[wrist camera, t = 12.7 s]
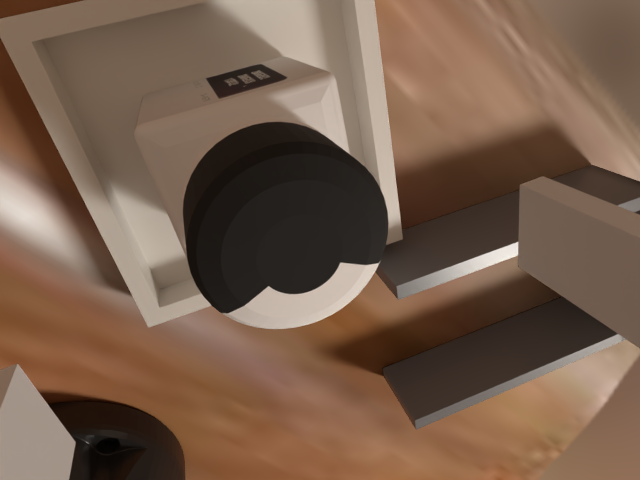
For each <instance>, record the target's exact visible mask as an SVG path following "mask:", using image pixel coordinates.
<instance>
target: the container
mask: <svg viewBox="0 0 640 480" xmlns="http://www.w3.org/2000/svg"><path fill="white" fill-rule="evenodd" d="M134 137H135V140H136V142H137V145H138V147H139V149H140V152H141V154H142V156H143V158H144V161H145V163H146V165H147V168H148V170H149V172H150V175H151V177H152V179H153V182H154V184H155V186H156V188H157V191H158V193H159V195H160V198H161V200H162V202H163V205H164V207H165V209H166V212H167V214H168V216H169V218H170V221H171V223H172V225H173V228H174V230H175V232H176V235H177V237H178V239H179V242H180V244H181V246H182V248H183V251H184V253H185V255H186V258H187V261H188V265H189V269H190V273H191V275H192V277H193V280H194V282H195V284H196V286H197V288H198V289H199V291H200V292H201V294H202V295H203V296H204V298H205V299H206V300H207V301H208V302H209V303H210V304H211V305H212V306H213V307H214V308H216V309H217V310H218V311H219V312H221V313H222V314H224V315H225V316H227V317H229V318H231V319H232V320H235V321H237V322H240V323H242V324H245V325H249V326H253V327H258V328H266V329H285V328H294V327H300V326H304V325H308V324H311V323H314V322H317V321H320V320H322V319H324V318H326V317H328V316H330V315H332V314H334V313H335V312H337V311H339V310H340V309H342V308H343V307H344V306H346V305H347V304H348V303H349V302H351V301H352V300H353V299H354V298H355V297H356V296H357V295H358V294H359V293H360V292H361V291H362V289H363V288H364V287H365V286H366V285H367V283H368V282H369V280H370V279H371V277H372V276H373V274H374V273H375V271H376V269H377V267H378V265H379V263H380V261H381V259H382V256H383V253H384V250H385V247H386V242H387V237H388V224H389V223H388V211H387V207H386V202H385V199H384V196H383V194H382V191H381V189H380V187H379V185H378V183H377V182H376V180H375V178H374V177H373V176H372V174H371V173H370V172H369V171H368V170H367V168H366V167H365V166H363V165H362V164H361V163H360V162H359V161H358V160H356V159H355V158H354V157H353V156H351V155H350V152H349V147H348V141H347V136H346V130H345V125H344V120H343V114H342V109H341V103H340V98H339V93H338V87H337V82H336V79H335V77H334V75H333V74H332V73H330V72H328V71H325V70H322V69H320V68H317V67H314V66H311V65H308V64H306V63H303V62H300V61H297V60H294V59H292V58H289V57H279V58H275V59H271V60H268V61H264V62H261V63H257V64H253V65H250V66H246V67H242V68H239V69H235V70H231V71H228V72H224V73H220V74H217V75H213V76H210V77H206V78H202V79H199V80H195V81H191V82H188V83H184V84H180V85H177V86H173V87H169V88H166V89H162V90H159V91H155V92H151V93H148V94H146V95H144V96H143V98H142V100H141V104H140V108H139V113H138V117H137V121H136V125H135V129H134Z"/></svg>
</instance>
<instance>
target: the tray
mask: <svg viewBox="0 0 640 480" xmlns="http://www.w3.org/2000/svg"><path fill="white" fill-rule="evenodd" d="M0 38H1V40H2V42H3V44H4V46H5V48H6V50H7V52H8V54H9V56H10V58H11V60H12V62H13V64H14V66H15V68H16V69H17V71H18V73H19V75H20V77H21V79H22V81H23V83H24V85H25V87H26V89H27V91H28V93H29V95H30V97H31V99H32V101H33V103H34V105H35V107H36V109H37V111H38V112H39V114H40V116H41V118H42V120H43V122H44V124H45V126H46V128H47V130H48V132H49V134H50V136H51V138H52V140H53V142H54V144H55V146H56V148H57V150H58V152H59V153H60V155H61V157H62V159H63V161H64V163H65V165H66V167H67V169H68V171H69V173H70V175H71V177H72V179H73V181H74V183H75V185H76V187H77V189H78V191H79V193H80V194H81V196H82V198H83V200H84V202H85V204H86V206H87V208H88V210H89V212H90V214H91V216H92V218H93V220H94V222H95V224H96V226H97V228H98V230H99V232H100V234H101V236H102V237H103V239H104V241H105V243H106V245H107V247H108V249H109V251H110V253H111V255H112V257H113V259H114V261H115V263H116V265H117V267H118V269H119V271H120V273H121V275H122V277H123V278H124V280H125V282H126V284H127V286H128V288H129V290H130V292H131V294H132V296H133V298H134V300H135V302H136V304H137V306H138V308H139V310H140V312H141V314H142V316H143V318H144V319H145V321H146V323H147V325H148V327H151V326H154V325H157V324H160V323H163V322H166V321H169V320H172V319H174V318H177V317H180V316H183V315H186V314H189V313H192V312H195V311H197V310H200V309H203V308H206V307H209V306H212V305H211V304H210V303H209V302H208V301H207V300H206V299H205V298H204V296H203V295H202V294H201V292H200V291H199V289H198V288H197V286H196V284H195V282H194V280H193V277H192V275H191V273H190V269H189V265H188V261H187V258H186V255H185V253H184V251H183V248H182V246H181V244H180V242H179V239H178V237H177V235H176V232H175V230H174V228H173V225H172V223H171V221H170V218H169V216H168V214H167V212H166V209H165V207H164V205H163V202H162V200H161V198H160V195H159V193H158V191H157V188H156V186H155V184H154V182H153V179H152V177H151V175H150V172H149V170H148V168H147V165H146V163H145V161H144V158H143V156H142V154H141V152H140V149H139V147H138V145H137V142H136V140H135V137H134V129H135V125H136V121H137V117H138V113H139V108H140V104H141V100H142V98H143V96H144V95H146V94H148V93H151V92H155V91H159V90H162V89H166V88H169V87H173V86H177V85H180V84H184V83H188V82H191V81H195V80H199V79H202V78H206V77H210V76H213V75H217V74H220V73H224V72H228V71H231V70H235V69H239V68H242V67H246V66H250V65H253V64H257V63H261V62H264V61H268V60H271V59H275V58H279V57H289V58H292V59H294V60H297V61H300V62H303V63H306V64H308V65H311V66H314V67H317V68H320V69H322V70H325V71H328V72H330V73H332V74H333V75H334V77H335V79H336V82H337V87H338V93H339V98H340V103H341V109H342V114H343V120H344V125H345V130H346V136H347V141H348V147H349V152H350V155H351V156H353V157H354V158H355V159H356V160H358V161H359V162H360V163H361V164H362V165H363V166H365V167H366V168H367V170H368V171H369V172H370V173H371V174H372V176H373V177H374V178H375V180H376V182H377V183H378V185H379V187H380V189H381V191H382V194H383V196H384V199H385V202H386V207H387V211H388V223H389V224H388V237H387V242H386V245H388V244H391V243H393V242H396V241H399V240H402V239H403V235H402V227H401V218H400V210H399V202H398V193H397V185H396V177H395V168H394V160H393V152H392V143H391V135H390V127H389V118H388V110H387V102H386V93H385V85H384V77H383V68H382V60H381V52H380V43H379V35H378V27H377V18H376V10H375V1H374V0H83V1H79V2H74V3H70V4H65V5H60V6H56V7H51V8H47V9H42V10H37V11H33V12H28V13H24V14H19V15H14V16H10V17H5V18H1V19H0Z"/></svg>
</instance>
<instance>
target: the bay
mask: <svg viewBox="0 0 640 480" xmlns="http://www.w3.org/2000/svg"><path fill="white" fill-rule="evenodd" d="M551 180H554V181H556V182H559V183H561V184H564V185H566V186H569V187H571V188H574V189H576V190H579V191H581V192H584V193H586V194H589V195H591V196H594V197H596V198H599V199H602V200H604V201H607V202H609V203H612V204H614V205H617V206H619V207H622V208H624V209H627V210H629V211H632V212H634V213H637V214H639V215H640V182H639V181H637V180H634V179H631V178H628V177H625V176H622V175H620V174H617V173H614V172H611V171H608V170H605V169H603V168H600V167H597V166H594V165H590V166H588V167H585V168H582V169H579V170H576V171H573V172H570V173H567V174H564V175H561V176H558V177H556V178H553V179H551ZM519 199H520V190H518V191H515V192H512V193H509V194H506V195H503V196H500V197H497V198H494V199H491V200H488V201H486V202H483V203H480V204H477V205H474V206H471V207H468V208H465V209H462V210H459V211H456V212H454V213H451V214H448V215H445V216H442V217H439V218H436V219H433V220H430V221H427V222H424V223H421V224H419V225H416V226H413V227H410V228H407V229H404V230H402V235H403V239H402V240H399V241H396V242H393V243H391V244H388V245H386V247H385V250H384V253H383V256H382V259H381V261H380V263H379V265H378V267H377V269H376V271H375V272H376V273H377V275H378V276H379V277H380V278H381V279H382V281H383V282H384V283H385V284H386V285H387V287H388V288H389V289H390V290H391V292H392V293H393V294H394V295H395V296H396V298H397V299H398V300H399V299H402V298H405V297H407V296H410V295H413V294H415V293H418V292H421V291H423V290H426V289H429V288H431V287H434V286H437V285H440V284H442V283H445V282H448V281H450V280H453V279H456V278H458V277H461V276H464V275H466V274H469V273H472V272H475V271H477V270H480V269H483V268H485V267H488V266H491V265H493V264H496V263H499V262H501V261H504V260H507V259H509V258H512V257H515V256H518V240H519ZM624 340H626V339H625V338H624V337H622V336H621V335H619V334H618V333H616V332H615V331H613V330H612V329H610V328H609V327H607V326H606V325H604V324H603V323H601V322H600V321H598V320H597V319H595V318H594V317H592V316H591V315H589V314H588V313H586V312H585V311H583V310H582V309H580V308H579V307H578V306H576V305H575V304H573V303H572V302H570V301H569V300H567V299H566V298H564V297H561V298H558V299H556V300H553V301H551V302H548V303H545V304H543V305H540V306H538V307H535V308H533V309H530V310H528V311H525V312H523V313H520V314H518V315H515V316H513V317H510V318H508V319H505V320H503V321H500V322H498V323H495V324H493V325H490V326H488V327H485V328H483V329H480V330H478V331H475V332H473V333H470V334H468V335H465V336H463V337H460V338H458V339H455V340H452V341H450V342H447V343H445V344H442V345H440V346H437V347H435V348H432V349H430V350H427V351H425V352H422V353H420V354H417V355H415V356H412V357H410V358H407V359H405V360H402V361H400V362H397V363H395V364H392V365H390V366H387V367H385V368H382V369H383V374H384V378H385V379H386V381H387V383H388V384H389V386H390V388H391V389H392V391H393V393H394V394H395V396H396V397H397V399H398V401H399V402H400V404H401V406H402V407H403V409H404V411H405V412H406V414H407V416H408V417H409V419H410V420H411V422H412V424H413V425H414V427H415V429H419V428H421V427H423V426H426V425H428V424H430V423H433V422H435V421H437V420H440V419H442V418H444V417H447V416H449V415H451V414H454V413H456V412H458V411H461V410H463V409H465V408H468V407H470V406H472V405H475V404H477V403H479V402H482V401H484V400H486V399H489V398H491V397H493V396H496V395H498V394H500V393H503V392H505V391H507V390H510V389H512V388H514V387H516V386H519V385H521V384H523V383H526V382H528V381H530V380H533V379H535V378H537V377H540V376H542V375H544V374H547V373H549V372H551V371H554V370H556V369H558V368H561V367H563V366H565V365H568V364H570V363H572V362H575V361H577V360H579V359H582V358H584V357H586V356H589V355H591V354H593V353H596V352H598V351H600V350H603V349H605V348H607V347H610V346H612V345H614V344H617V343H619V342H621V341H624Z"/></svg>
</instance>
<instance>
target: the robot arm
mask: <svg viewBox="0 0 640 480" xmlns="http://www.w3.org/2000/svg"><path fill="white" fill-rule="evenodd" d="M518 267H519V268H521V269H522V270H524V271H525V272H527V273H528V274H530V275H531V276H533V277H534V278H536V279H537V280H539V281H540V282H542V283H543V284H545V285H546V286H548V287H549V288H551V289H552V290H554V291H555V292H557V293H558V294H560V295H561V296H563V297H564V298H566V299H567V300H569V301H570V302H572V303H573V304H575V305H576V306H578V307H579V308H580V309H582V310H583V311H585V312H586V313H588V314H589V315H591V316H592V317H594V318H595V319H597V320H598V321H600V322H601V323H603V324H604V325H606V326H607V327H609V328H610V329H612V330H613V331H615V332H616V333H618V334H619V335H621V336H622V337H624V338H625V339H627V340H628V341H630V342H631V343H633V344H634V345H636V346H637V347H639V348H640V215H639V214H637V213H634V212H632V211H629V210H627V209H624V208H622V207H619V206H617V205H614V204H612V203H609V202H607V201H604V200H602V199H599V198H596V197H594V196H591V195H589V194H586V193H584V192H581V191H579V190H576V189H574V188H571V187H569V186H566V185H564V184H561V183H559V182H556V181H554V180H551V179H549V178H546V177H544V176H542V177H539V178H537V179H534V180H531V181H528V182H525V183H523V184H520V199H519V240H518ZM0 480H185V461H184V454H183V450H182V448H181V445H180V443H179V441H178V440H177V438H176V437H175V435H174V434H173V433H172V432H171V431H170V430H169V429H168V428H167V427H166V426H165V425H164V424H163V423H161V422H160V421H158V420H157V419H155V418H153V417H152V416H150V415H148V414H146V413H143V412H141V411H138V410H136V409H133V408H129V407H126V406H122V405H117V404H111V403H103V402H65V403H57V404H51V405H48V404H47V403H46V401H45V400H44V399H43V397H42V396H41V395H40V393H39V392H38V391H37V389H36V388H35V386H34V385H33V384H32V382H31V381H30V380H29V378H28V377H27V376H26V374H25V373H24V372H23V370H22V369H21V367H20V366H19V365H18V364H15V365H12V366H10V367H7V368H4V369H1V370H0Z"/></svg>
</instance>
